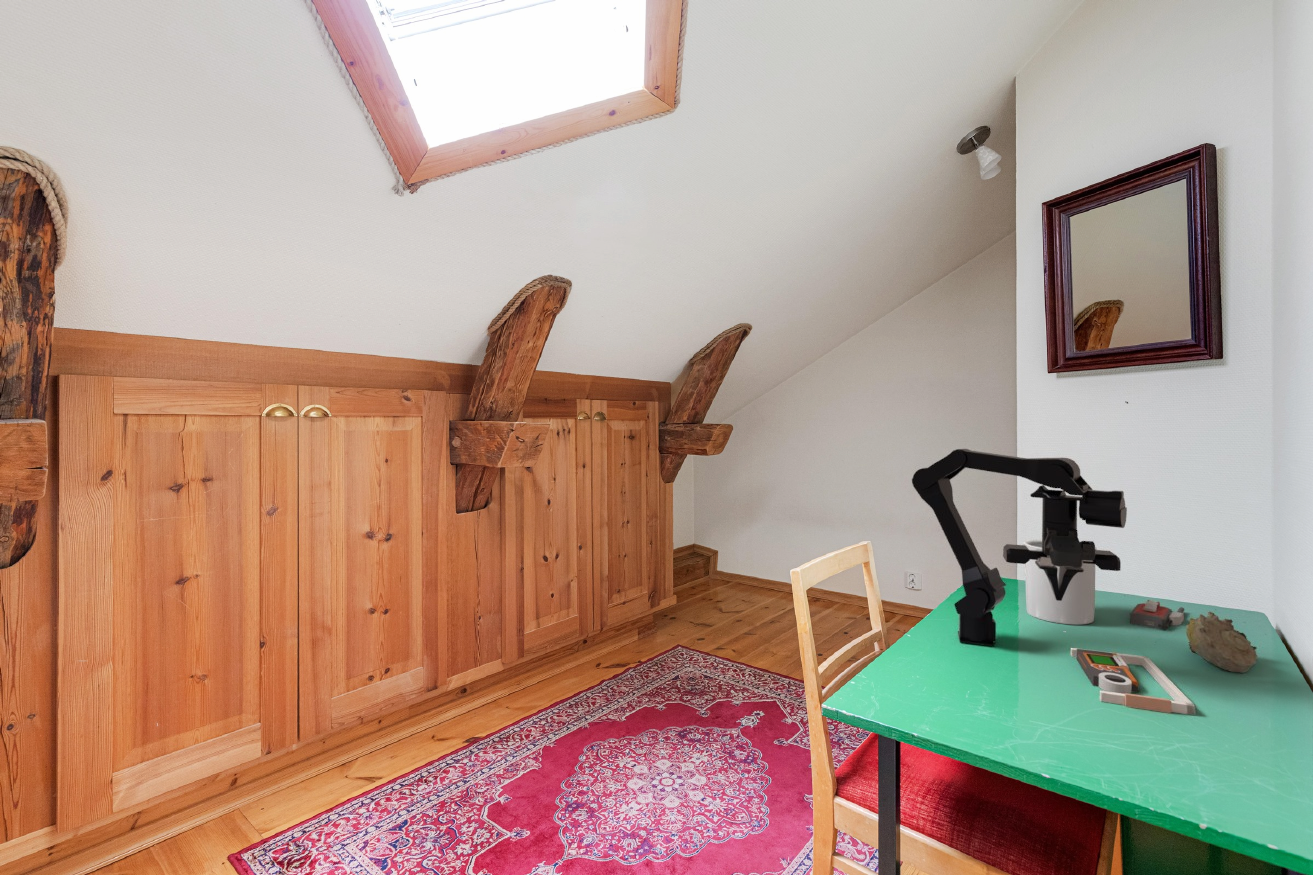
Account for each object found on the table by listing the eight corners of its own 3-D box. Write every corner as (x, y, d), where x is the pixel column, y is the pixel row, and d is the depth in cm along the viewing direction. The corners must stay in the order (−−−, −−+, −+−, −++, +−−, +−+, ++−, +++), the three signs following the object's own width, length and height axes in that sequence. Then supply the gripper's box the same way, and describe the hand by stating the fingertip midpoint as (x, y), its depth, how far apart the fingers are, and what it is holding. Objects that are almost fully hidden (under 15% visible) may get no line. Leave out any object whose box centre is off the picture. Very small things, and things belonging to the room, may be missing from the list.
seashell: (1188, 674, 117) (1191, 624, 115) (1178, 643, 128) (1181, 598, 127) (1268, 690, 110) (1273, 637, 109) (1251, 656, 122) (1255, 608, 121)
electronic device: (1097, 679, 106) (1076, 645, 120) (1096, 696, 107) (1076, 660, 120) (1145, 686, 104) (1118, 650, 118) (1144, 702, 104) (1117, 665, 118)
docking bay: (1102, 702, 102) (1102, 691, 102) (1070, 654, 123) (1070, 645, 123) (1196, 716, 97) (1196, 704, 97) (1147, 664, 118) (1147, 654, 118)
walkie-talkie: (1177, 635, 135) (1187, 615, 148) (1177, 615, 134) (1188, 597, 148) (1127, 626, 141) (1142, 607, 155) (1127, 607, 141) (1142, 590, 155)
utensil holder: (1010, 612, 150) (1011, 542, 149) (1042, 603, 158) (1043, 536, 157) (1076, 630, 137) (1077, 553, 137) (1107, 618, 145) (1109, 546, 144)
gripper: (1010, 525, 116) (1010, 606, 116) (1130, 531, 108) (1129, 618, 109) (1003, 516, 126) (1002, 591, 126) (1112, 522, 119) (1111, 601, 119)
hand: (1058, 600), depth 120 cm, fingers closed
